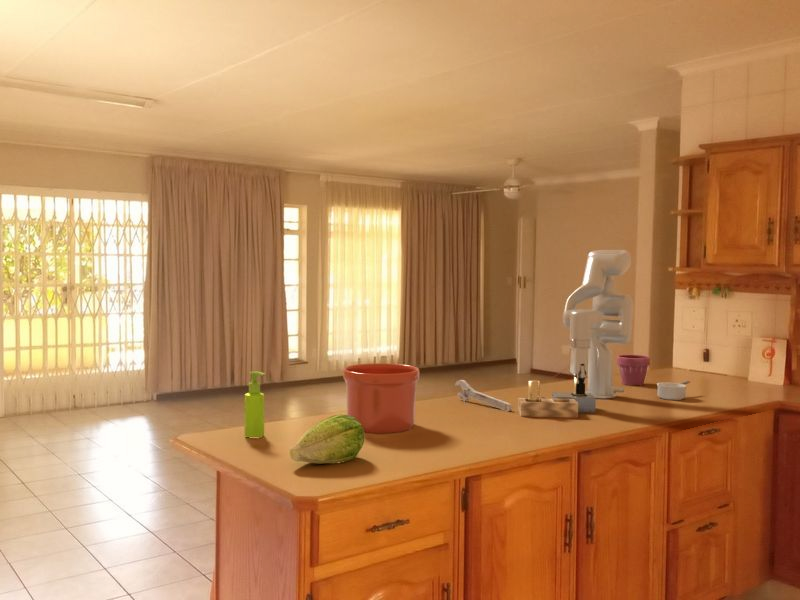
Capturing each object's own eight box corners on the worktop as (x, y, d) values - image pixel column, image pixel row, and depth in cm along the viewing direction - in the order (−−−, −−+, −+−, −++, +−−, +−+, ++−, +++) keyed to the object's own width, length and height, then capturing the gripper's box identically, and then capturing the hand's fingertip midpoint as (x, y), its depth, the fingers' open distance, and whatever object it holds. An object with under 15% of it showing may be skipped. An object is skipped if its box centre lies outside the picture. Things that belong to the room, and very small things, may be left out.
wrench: (507, 419, 259) (453, 397, 282) (511, 419, 260) (456, 397, 283) (510, 398, 258) (455, 378, 281) (513, 398, 259) (458, 378, 282)
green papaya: (272, 441, 190) (293, 421, 180) (337, 420, 204) (360, 401, 195) (290, 486, 186) (313, 469, 176) (356, 461, 200) (380, 444, 191)
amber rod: (538, 413, 257) (538, 380, 256) (539, 415, 253) (540, 382, 252) (527, 413, 257) (527, 380, 256) (528, 415, 253) (529, 381, 252)
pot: (332, 421, 240) (333, 365, 240) (400, 415, 250) (401, 361, 249) (358, 438, 217) (358, 376, 217) (431, 431, 227) (432, 371, 226)
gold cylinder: (583, 408, 266) (583, 376, 265) (585, 410, 262) (586, 378, 261) (572, 408, 266) (572, 376, 265) (574, 410, 262) (575, 378, 261)
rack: (573, 412, 258) (573, 399, 258) (577, 417, 250) (578, 403, 250) (518, 411, 259) (518, 398, 259) (520, 416, 251) (520, 402, 251)
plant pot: (611, 381, 329) (612, 354, 328) (640, 381, 331) (641, 354, 330) (624, 387, 315) (625, 358, 314) (654, 386, 316) (655, 358, 316)
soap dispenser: (257, 440, 214) (257, 374, 213) (240, 437, 217) (240, 372, 216) (270, 436, 219) (270, 371, 218) (254, 433, 222) (254, 369, 221)
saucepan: (701, 396, 294) (701, 383, 294) (677, 402, 281) (678, 388, 281) (675, 392, 303) (675, 379, 303) (650, 398, 290) (651, 384, 289)
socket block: (589, 407, 269) (589, 392, 268) (595, 412, 259) (595, 397, 258) (552, 406, 269) (552, 392, 269) (556, 411, 259) (556, 396, 259)
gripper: (565, 341, 271) (564, 389, 272) (574, 346, 255) (573, 397, 255) (585, 341, 271) (584, 389, 272) (595, 346, 254) (594, 397, 255)
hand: (579, 392), depth 264 cm, fingers closed on gold cylinder, 4 cm apart
